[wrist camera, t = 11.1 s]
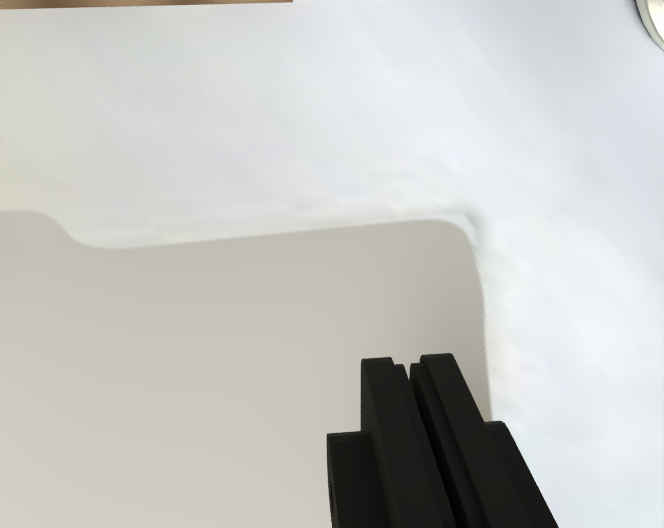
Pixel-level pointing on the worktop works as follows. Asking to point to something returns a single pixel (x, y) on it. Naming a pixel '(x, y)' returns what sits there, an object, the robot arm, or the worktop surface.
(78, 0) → the button panel
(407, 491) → the robot arm
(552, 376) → the worktop surface
